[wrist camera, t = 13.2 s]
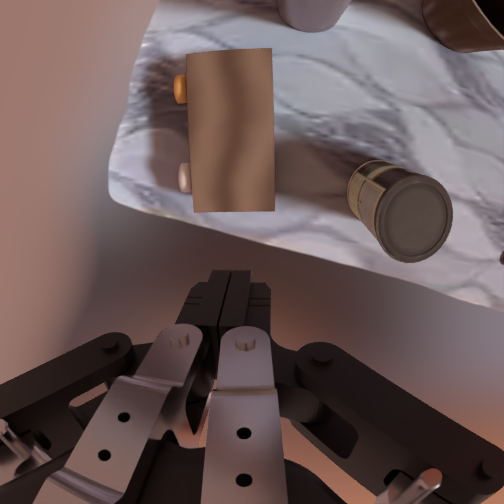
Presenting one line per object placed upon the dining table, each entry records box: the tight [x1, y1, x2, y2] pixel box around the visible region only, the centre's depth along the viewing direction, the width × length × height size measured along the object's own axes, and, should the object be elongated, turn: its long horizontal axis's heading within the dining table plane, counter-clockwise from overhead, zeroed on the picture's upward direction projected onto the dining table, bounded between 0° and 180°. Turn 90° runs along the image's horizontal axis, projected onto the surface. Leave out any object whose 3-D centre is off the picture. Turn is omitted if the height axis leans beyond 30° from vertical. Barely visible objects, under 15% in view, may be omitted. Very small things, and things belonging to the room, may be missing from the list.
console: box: [186, 48, 275, 213], centre depth 36 cm, size 10×20×8 cm, turn 2°
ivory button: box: [179, 162, 192, 193], centre depth 38 cm, size 6×4×4 cm, turn 92°
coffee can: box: [347, 160, 453, 263], centre depth 35 cm, size 10×10×14 cm
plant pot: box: [422, 0, 504, 53], centre depth 21 cm, size 16×16×16 cm
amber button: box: [174, 74, 187, 104], centre depth 33 cm, size 6×4×4 cm, turn 92°
